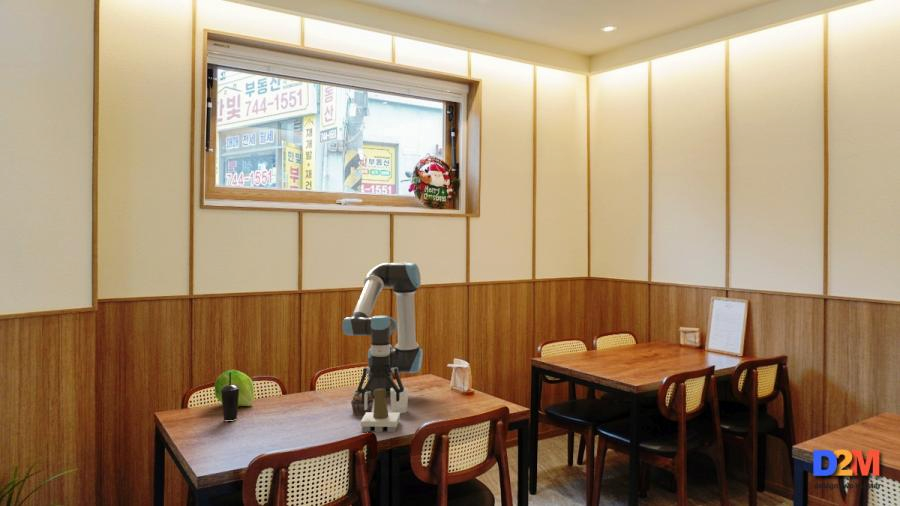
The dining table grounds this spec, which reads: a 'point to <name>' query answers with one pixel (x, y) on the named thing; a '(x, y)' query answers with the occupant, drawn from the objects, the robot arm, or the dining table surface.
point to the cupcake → (361, 403)
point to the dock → (380, 422)
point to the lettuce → (240, 380)
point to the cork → (380, 403)
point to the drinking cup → (230, 400)
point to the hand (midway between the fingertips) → (380, 409)
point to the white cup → (400, 400)
